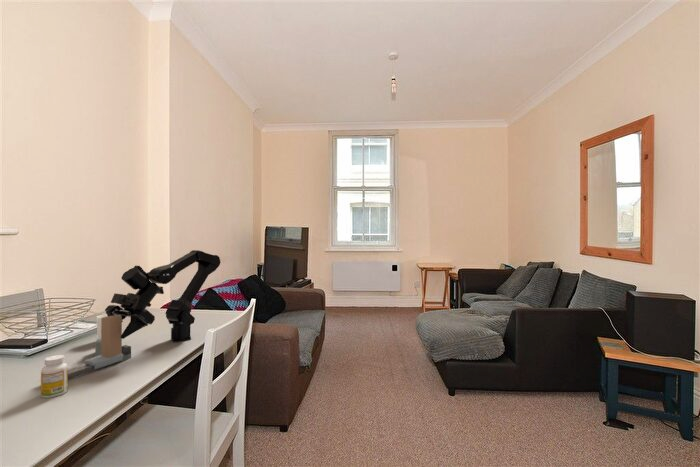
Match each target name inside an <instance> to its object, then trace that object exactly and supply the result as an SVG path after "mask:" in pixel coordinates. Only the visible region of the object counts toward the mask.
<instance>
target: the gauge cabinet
mask: <svg viewBox="0 0 700 467" xmlns="http://www.w3.org/2000/svg"><path fill="white" fill-rule="evenodd" d="M94 344H95V345H94V346H95V350H94V351H95V352H94V353H95V356H94V357H97V356H100V355H101V337H100V338H98V337H97V338H96V340H95V343H94Z"/></svg>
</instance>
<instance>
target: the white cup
mask: <svg viewBox="0 0 700 467" xmlns="http://www.w3.org/2000/svg"><path fill="white" fill-rule="evenodd" d="M103 317H108V316H107V314H106V313H103V314H99V315H97V316H96V329H97V330H96V331H97V338H100V337H101V318H103Z"/></svg>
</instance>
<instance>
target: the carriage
mask: <svg viewBox="0 0 700 467" xmlns="http://www.w3.org/2000/svg"><path fill="white" fill-rule="evenodd" d="M122 321H123V320H122V316H116V315H112V316H108V317H103V318H101V355H100V356H97V357H95V356H94V357H90V358H87V359H85V360H84V365H87V364H89V365H93V366H94V369H97V368H100V367H103V366H106V365H109V364H112V363H115V362H117V361H120V360H123V354H122V346H123V345H122V344H123V342H122V341H123V339H122V338H120V337H121V335H122V333H123V332H122V331H123V329H122V328H123V325H122V324H123V322H122ZM123 361H124V360H123ZM120 362H121V361H120ZM117 363H118V362H117ZM115 364H116V363H115ZM112 365H113V364H112ZM109 366H110V365H109ZM106 367H107V366H106ZM103 368H104V367H103ZM100 369H101V368H100ZM97 370H98V369H97Z"/></svg>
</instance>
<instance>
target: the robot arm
mask: <svg viewBox="0 0 700 467" xmlns="http://www.w3.org/2000/svg"><path fill="white" fill-rule="evenodd" d="M194 263H197V271H196V272H195V274H194V276H193V277H192V278H191V281H190V282H189V284H188V285H187V286H186V288H185V290H184V291H183V293H182V294H181V296H180V297H179V298H178V299H172V300H171V301H170V303H169V305H168V306H167V307H166V311H165V317H166V320H167V321H168V324H170V325H172V327H171V328H170V340H172V342H173V343H174V342H181V341H182V342H183V341H189V340H192V337H191V325H192V324H194V323H195V319H196V318H195V317H194V316H193V314H191V312H192V303H193V302H194V299H195V298H196V297H197V295H198V293H199V292H200V290H201V288H202V287H203V285H204V284H205V281H206V280H207V279H208V276H210V275H211V274H213V273H214V272H215V271H216V270H217V269H218V268H219V266H221V259H220V257H219V255H217V254H211V253H207V252H205V251H203V250H199V249H197V250H196V249H195V250H194V249H193V250H190V251H189V252H188V253H186V254H184V255H183V256H181V257H179V258H178V259H176V260H173V261H172V262H171V263H168V264H163V265H160V266H157V267H153V268H152V269H151V270H149V271H148V272H146V271H145V270H144V269H143V267H141V266H140V265H134V266H133V267H132V268H130V269H128V270H126V271H125V272H124V273H123V274H122V276H121V280H122V281H123V282H124V283H126V285H127V286H129V287H130V288H132V290H135V291H136V290H137V292H136V293H134V292H133V293H132V292H128V293H127V294H122V293H116V292H115V293H114V294H113V295H112V299H111V301H110V303H111V304H109V305H108V306H106V308H105V309H104V311H105V314H107V316H112V315H116V316H122V323H123V320H125V319H126V318H127V317H130V320H129V323H128V324H127V326H126V328H125V329H124V330H123V332H122V335H121V337H120V338H122V340H123V339H126V338H127V337H129V336H131V335H132V334H134V333H135V332H137V331H139V330H140V329H143V328H145V327H148V325H152V324H153V323H154V321H155V318H156V317H155V315H154V314H153V313H151V312H150V311H149V310H148V309H147V308H150V307H151V306H152V303H151V302H152V300H154V298H155V297H156V295H157V294H160V295H164V294H165V292H164V291H165V290H164V287H163V286H159V285H158V284H160V285H167V284H169V283H170V282H172V281H173V280H174V279H175V278H176V276H177V274H179V273H180V272H181V271H183V270H185V269H186V268H188V267H189V266H191V265H193V264H194ZM116 304H117V305H116Z"/></svg>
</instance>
